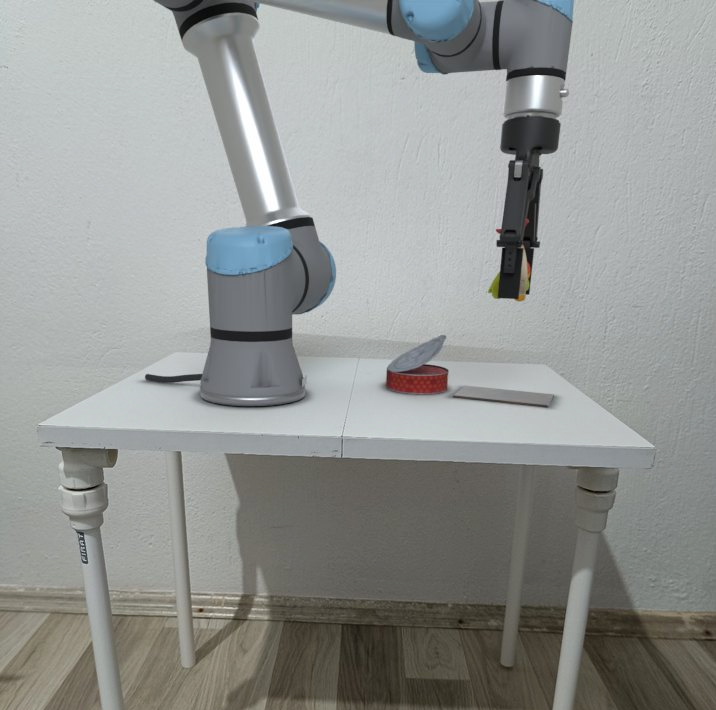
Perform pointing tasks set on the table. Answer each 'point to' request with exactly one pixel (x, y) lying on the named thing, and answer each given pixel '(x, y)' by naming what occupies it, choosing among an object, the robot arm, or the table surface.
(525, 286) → the bird rattle
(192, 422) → the table surface
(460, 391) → the flat grey rectangular slab
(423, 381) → the canned food
